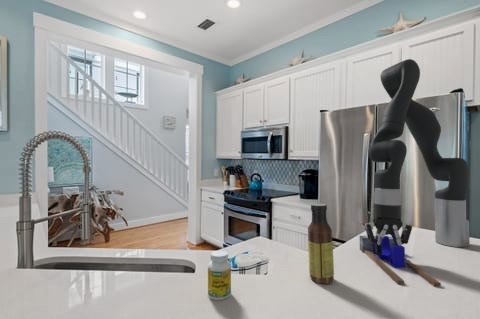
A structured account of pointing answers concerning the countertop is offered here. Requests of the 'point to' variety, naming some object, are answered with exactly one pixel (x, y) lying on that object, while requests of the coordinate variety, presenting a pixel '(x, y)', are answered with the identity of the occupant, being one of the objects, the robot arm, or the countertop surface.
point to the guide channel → (367, 248)
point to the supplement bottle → (219, 276)
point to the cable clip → (392, 253)
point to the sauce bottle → (320, 246)
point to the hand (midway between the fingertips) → (387, 255)
